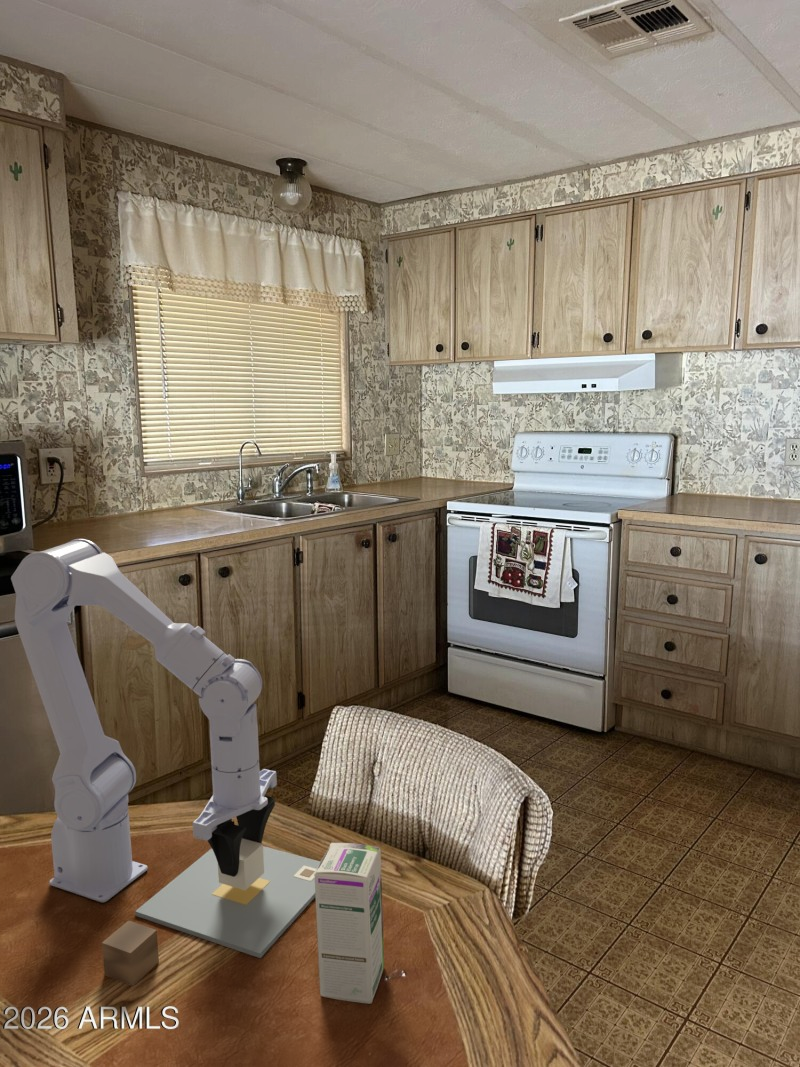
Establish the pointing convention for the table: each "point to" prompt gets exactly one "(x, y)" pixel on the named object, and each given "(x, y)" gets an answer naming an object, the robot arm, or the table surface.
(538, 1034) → the table surface
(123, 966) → the walnut block
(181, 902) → the board
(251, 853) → the cream block
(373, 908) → the syrup box
